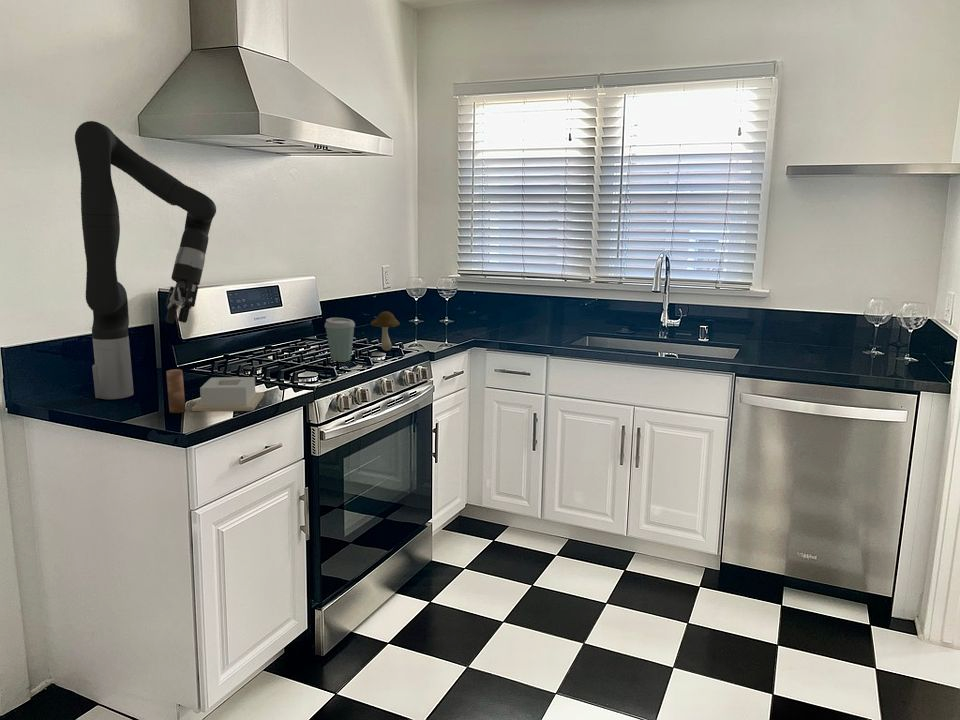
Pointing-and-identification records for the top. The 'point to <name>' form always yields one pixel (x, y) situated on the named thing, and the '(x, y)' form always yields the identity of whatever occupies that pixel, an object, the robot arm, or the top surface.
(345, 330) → the disposable coffee cup
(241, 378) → the socket block
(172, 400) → the peg
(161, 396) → the top surface
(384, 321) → the mushroom
